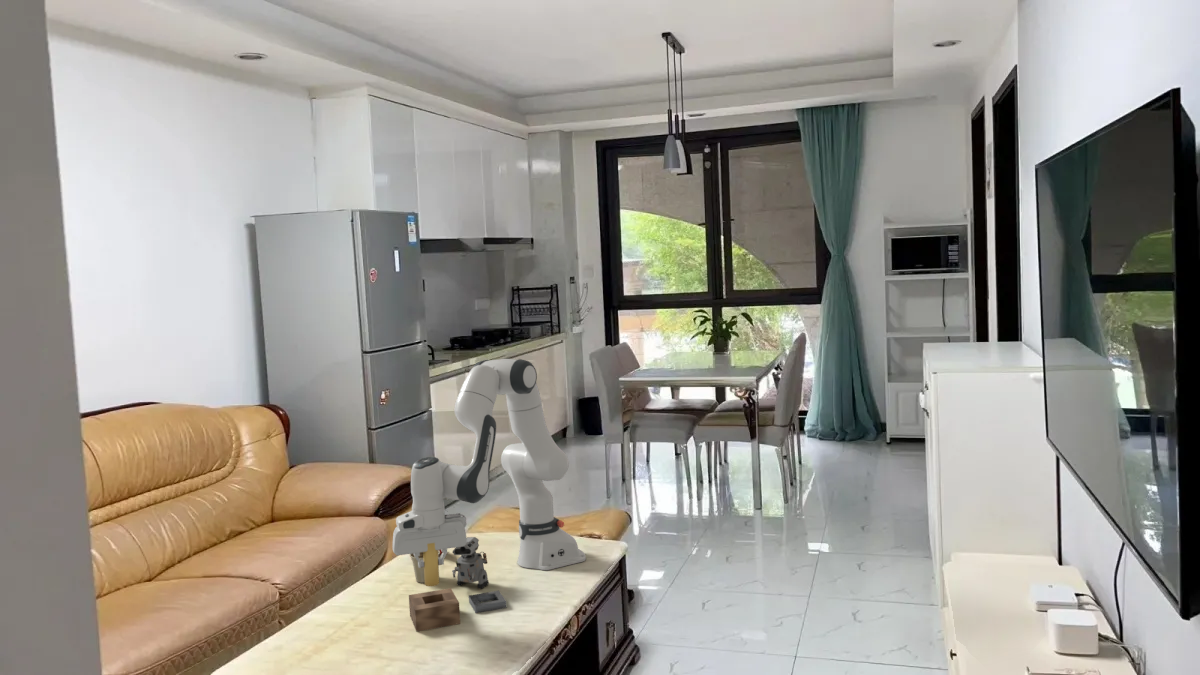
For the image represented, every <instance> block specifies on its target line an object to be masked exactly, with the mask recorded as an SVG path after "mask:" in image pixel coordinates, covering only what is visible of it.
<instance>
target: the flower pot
mask: <svg viewBox="0 0 1200 675" xmlns="http://www.w3.org/2000/svg"><path fill="white" fill-rule="evenodd" d="M440 555H441V554H440V551H439V550H438V557H440ZM418 557H419V559H420V560H424V559H423V552H420V556H418ZM409 558H410V559H411V561H412V566H413V571H414V576H415V580H416V582H417V583H421V584H423V583H424V584H425V579H424V567H423V568H419V567H418V561H417V559H416V558H415V556H414V553H413V554H409Z"/></svg>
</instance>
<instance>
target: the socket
mask: <svg viewBox="0 0 1200 675" xmlns="http://www.w3.org/2000/svg"><path fill="white" fill-rule="evenodd" d="M408 605H409V616H410V620H411V622H412V625H413V627H414V629H415V631H416V632H422V631H429V630H432V629H438V628H445V627H449V626H455V625H461V614H460V610H461V609H460V602H459V599H457V597H456V594H455V593H454V592H453V589H452V588H451V587H449V588H445V589H444V588H443V589H437V590H433V591H425V592H420V593H414V594H408Z"/></svg>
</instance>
